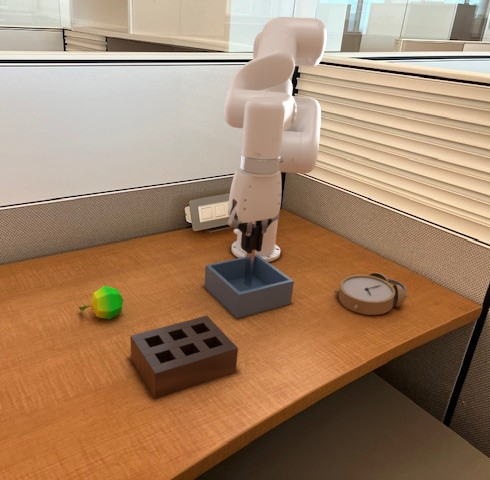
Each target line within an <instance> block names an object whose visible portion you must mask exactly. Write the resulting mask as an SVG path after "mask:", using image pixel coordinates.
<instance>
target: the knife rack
mask: <svg viewBox="0 0 490 480" xmlns="http://www.w3.org/2000/svg"><path fill="white" fill-rule="evenodd" d="M238 351H239V347H238V346H237V345H236V344H235V343H234V342H233V341H232V340H231V338H229V337H228V336H227V334H226V333H224V331H223V330H222V329H221V328H220V327H219V326H218V325H217V324H216V323H215V322H214V321H213V320H212V319H211V317H209V315H203V316H199V317H196V318H192V319H188V320H185V321H180V322H177V323H174V324H169V325H165V326H160V327H158V328H155V329H151V330H145V331H142V332H139V333H135V334H132V335H130V360H131V362H132V363H133V365H134V367H135V369H136V370H137V371H138V373H139V375H140V376H141V378H142V380H143V381H144V383H145V384H146V386H147V388H148V390H149V391H150V393H151V394H152V396H153V397H154V399H158V398H161V397H164V396H167V395H170V394H173V393H176V392H179V391H182V390H185V389H188V388H191V387H194V386H197V385H200V384H203V383H206V382H210V381H211V380H215V379H218V378H221V377H224V376H227V375H231V374H234V373H236V372H237V365H238V364H237V363H238V353H239V352H238Z"/></svg>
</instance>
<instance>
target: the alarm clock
mask: <svg viewBox="0 0 490 480" xmlns="http://www.w3.org/2000/svg"><path fill="white" fill-rule="evenodd" d="M392 284H393V285H392ZM406 291H407V287H406V286H405V285H404V284H403V283H402V282H401V281H398V280H396V279H393V278H388V277H387V276H386V275H385V274H383V273H382V272H375V271H374V272H372V273H370V274H353V275H348V276H346V277H344V278H343V279H341V281H340V283H339V289H334V290H333V293H336V294H338V300H339V302H340V303H341V304H342V306H343V307H345V308H347V310H350V311H352V312H354V313H358V314H360V315H361V314H362V315H369V316H377V315H378V316H379V315H384V314H385V313H387V312H390V311H391V310H392V309H393V307H400V306H402V305H403V304H404V302H405V300H406V298H408V295H406Z"/></svg>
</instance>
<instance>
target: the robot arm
mask: <svg viewBox="0 0 490 480" xmlns="http://www.w3.org/2000/svg"><path fill="white" fill-rule="evenodd" d="M327 36H328V35H327V28H326V25H325V24H324V22H323V21H322V20H321V19H318V18H314V17H291V16H279V17H278V16H277V17H274V18H272V19H270V20H269V21H267V22H266V23H265V25H264V26H263V28H262V31H260V32H258V33H257V35H256V37H255V38H254V41H253V47H252V48H253V49H252V59H251V60H249V61H248V62H246V63H245V64H244V65H242V66H240V68H238V69H237V70H236V71H235V73H234V74H233V75H232V76H231V78H230V81H229V84H228V88H227V92H226V96H225V99H224V106H223V107H224V108H223V116H224V120H225V122H226V124H227V125H228V126H230V127H232V128H236V129H242V134H241V135H242V136H241V148H240V160H239V169H236V170H235V172H234V174H233V178H232V181H231V186H230V191H229V197H228V203H227V204H228V205H227V215H228V216H229V218H228V220H227V225H228V226H229V227H231V228H233V234H234V235H236V240H235V241H234V242H232V244H231V253H232V254H233V255H234V256H235V257H236V258H241V257H246V256H247V253H248V254H250V253H252V249H253V239H254V237H253V236H252V235H251V234H252V224H255V225H257V226H258V227H259V235H258V244H257V249H256V250H255V254H257V255H259V256H260V257H262V258H263V259H264V260H266V261H267V262H269V263H270V262H273V261H275V260H277V259H279V258H280V256H281V251H282V250H281V248H280V247H279V246H278V245H277V243H276V241H277V234H278V233H277V232H278V226H279V224H278V223H279V219H280V211H281V206H282V205H281V204H282V193H283V192H282V187H283V186H282V183H283V182H282V173H287V174H301V175H303V174H305V175H306V174H310V173H311V172H313V170H314V169H315V167H316V165H317V163H318V158H319V157H318V156H319V149H320V148H319V146H320V134H321V124H322V123H321V121H322V120H321V119H322V110H321V105H320V103H319V101H318V100H316V99H315V98H313V97H309V96H298V95H293V88H294V87H293V83H292V81H291V77H292V76H293V75H294V72H295V69H296V67H304V68H305V67H306V68H309V67H312V68H313V67H316V66H318V65H319V64H320V63H321V61H322V59H323V55H324V53H325V49H326V46H327Z"/></svg>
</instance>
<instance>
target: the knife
mask: <svg viewBox="0 0 490 480" xmlns="http://www.w3.org/2000/svg"><path fill="white" fill-rule="evenodd" d="M251 235H252V236H253V237H254V239H253V249H252V253H250V254H248V253H247V256H246V267H245V277H244V284H245V285H246V286H247V287H251V285H252V275H253V266H254V256H255V250H256V249H257V244H258V235H259V227H258V226H257V225H255V224H252V234H251Z"/></svg>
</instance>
